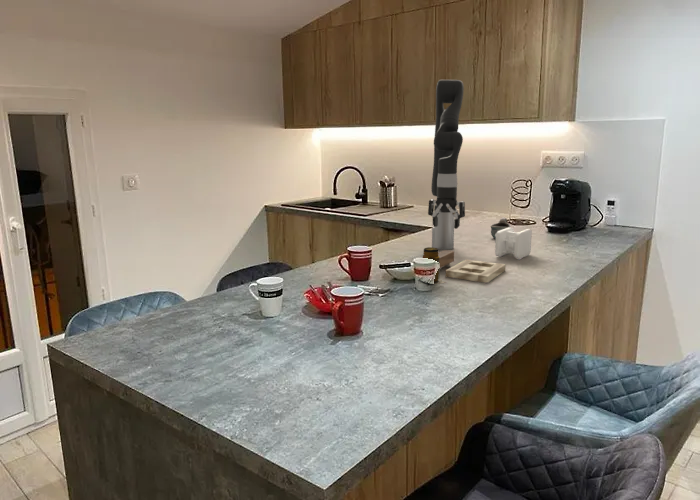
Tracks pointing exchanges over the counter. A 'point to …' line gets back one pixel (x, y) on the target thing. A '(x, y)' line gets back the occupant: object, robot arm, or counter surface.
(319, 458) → the counter surface
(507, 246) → the cable organizer
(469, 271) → the keyhole board
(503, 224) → the mug
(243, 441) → the counter surface
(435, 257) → the condiment
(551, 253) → the counter surface
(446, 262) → the walnut bar
